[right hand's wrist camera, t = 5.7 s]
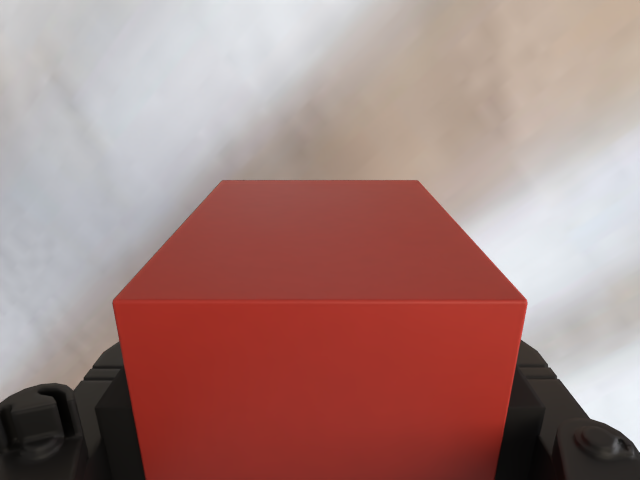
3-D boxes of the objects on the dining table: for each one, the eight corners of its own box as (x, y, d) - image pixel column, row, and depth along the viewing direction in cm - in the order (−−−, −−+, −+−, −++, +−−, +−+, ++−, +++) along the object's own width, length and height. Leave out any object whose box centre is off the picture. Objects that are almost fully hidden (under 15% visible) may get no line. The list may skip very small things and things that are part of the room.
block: (236, 362, 17) (166, 600, 9) (221, 179, 15) (110, 300, 7) (404, 362, 17) (473, 600, 9) (418, 180, 15) (529, 300, 7)
